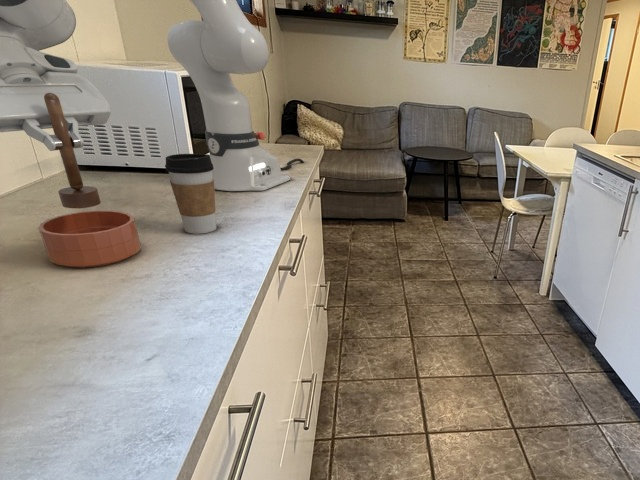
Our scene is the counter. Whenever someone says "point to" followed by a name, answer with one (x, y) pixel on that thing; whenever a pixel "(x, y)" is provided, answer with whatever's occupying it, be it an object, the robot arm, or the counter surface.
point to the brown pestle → (69, 161)
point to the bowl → (90, 238)
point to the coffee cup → (193, 190)
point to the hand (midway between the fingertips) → (68, 146)
